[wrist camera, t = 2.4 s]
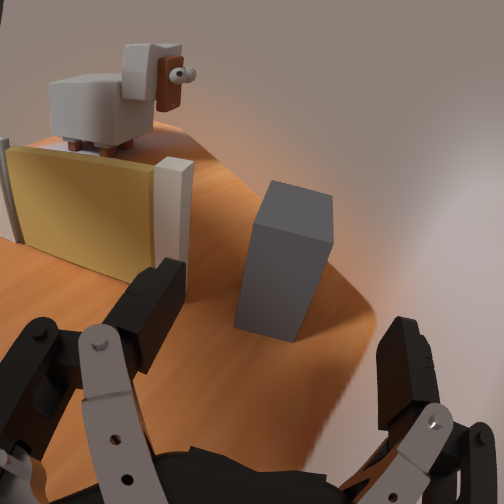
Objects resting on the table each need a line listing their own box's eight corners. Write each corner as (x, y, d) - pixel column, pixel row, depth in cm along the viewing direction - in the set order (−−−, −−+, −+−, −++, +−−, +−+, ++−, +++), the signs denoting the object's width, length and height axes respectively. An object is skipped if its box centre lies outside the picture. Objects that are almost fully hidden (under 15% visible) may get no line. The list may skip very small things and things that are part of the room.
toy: (164, 177, 44) (175, 43, 32) (52, 151, 48) (50, 52, 37) (197, 156, 53) (210, 46, 41) (88, 135, 57) (90, 47, 45)
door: (25, 243, 27) (5, 150, 20) (41, 229, 29) (26, 139, 23) (153, 291, 26) (148, 172, 19) (166, 270, 28) (168, 157, 22)
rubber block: (233, 327, 25) (253, 222, 19) (252, 274, 30) (271, 180, 24) (293, 342, 24) (333, 243, 18) (301, 286, 30) (332, 195, 24)
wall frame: (-6, 235, 27) (-27, 143, 20) (4, 226, 29) (-14, 136, 22) (178, 305, 25) (182, 171, 18) (187, 290, 27) (194, 161, 20)
